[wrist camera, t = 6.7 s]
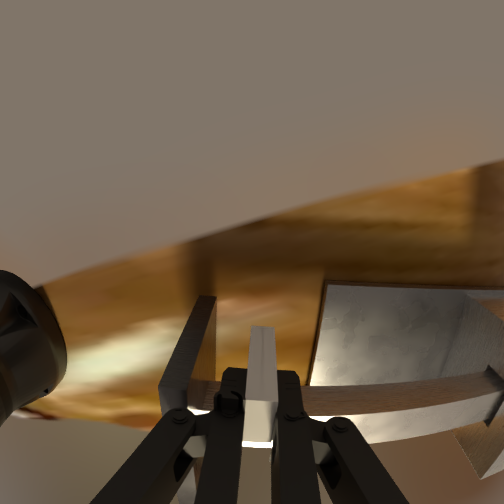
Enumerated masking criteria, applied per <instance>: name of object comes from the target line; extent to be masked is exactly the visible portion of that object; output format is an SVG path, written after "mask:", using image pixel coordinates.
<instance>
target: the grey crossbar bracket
mask: <svg viewBox="0 0 504 504" xmlns="http://www.w3.org/2000/svg"><path fill="white" fill-rule="evenodd" d="M216 308H217V297H214V296H202V295H199V297H198V299H197V302H196V304H195V306H194V308H193V310H192V312H191V314H190V317H189V319H188V321H187V323H186V325H185V327H184V330H183V332H182V334H181V336H180V338H179V341H178V343H177V345H176V347H175V349H174V352H173V354H172V356H171V358H170V360H169V363H168V365H167V367H166V369H165V372H164V374H163V376H162V378H161V381H160V383H159V385H158V389H159V397H160V404H161V411H162V417H163V416H164V415H165V413H166V412H168V411H169V410H171V409H173V408H186V409H188V410H190V411H192V412H193V413H194V414H195V415H198V414H205V413H208V412H210V411H212V410H213V409H214V395H215V393H216V392H218V391H219V390H220V386H221V381H215V364H216ZM301 393H302V400H303V407H304V411H306V412H307V415H308V416H310V417H311V418H313V419H316V420H319V421H324V422H326V421H327V420H328V419H329V418H332V417H334V416H342V417H346V418H348V419H350V420H351V421H352V422H353V423H354V424H355V425H356V427H357V428H358V430H359V431H360V433H361V434H362V436H363V437H364V438H365V440H366V441H367V443H368V444H370V443H379V442H386V441H393V440H400V439H406V438H411V437H417V436H423V435H427V434H432V433H437V432H441V431H446V430H450V429H454V428H458V427H462V426H466V425H469V424H473V423H477V422H480V421H483V420H487V419H490V418H493V417H495V415H496V414H497V412H498V410H499V408H500V406H501V405H502V403H503V401H504V380H503V379H502V378H501V377H500V376H499V375H498V373H497V372H496V371H495V370H494V369H492V370H487V371H481V372H476V373H470V374H464V375H458V376H451V377H444V378H436V379H428V380H419V381H410V382H399V383H386V384H370V385H346V386H301ZM242 446H246V447H268V448H272V442H271V443H257V442H243V444H242ZM203 458H204V456H203V457H198V458H197V460H196V462H195V464H194V465H193V467H192V469H191V470H190V472H189V474H188V475H187V477H186V478H185V480H184V482H183V483H182V485H181V486H180V488H179V490H178V491H177V496H178V500H179V504H194V501H195V496H196V491H197V486H198V482H199V477H200V472H201V467H202V463H203Z"/></svg>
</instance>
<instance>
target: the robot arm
mask: <svg viewBox="0 0 504 504" xmlns="http://www.w3.org/2000/svg"><path fill="white" fill-rule="evenodd" d="M66 367H67V355H66V349H65V345H64V341H63V338H62V335H61V332H60V330H59V328H58V325H57V323H56V321H55V319H54V317H53V316H52V314H51V312H50V311H49V309H48V307H47V306H46V304H45V303H44V302H43V300H42V299H41V298H40V296H39V295H38V294H37V293H36V292H35V291H34V290H33V288H32V287H31V286H29V285H28V284H27V283H26V282H25V281H23V280H22V279H21V278H20V277H18V276H17V275H15V274H13V273H10V272H8V271H4V270H0V427H1V425H2V424H3V423H4V422H5V420H6V419H7V418H8V417H9V416H10V415H11V414H12V413H13V411H15V410H16V409H19V408H21V407H23V406H25V405H27V404H29V403H31V402H33V401H35V400H37V399H39V398H41V397H44V396H46V395H48V394H49V393H51V392H52V391H53V390H54V389H55V388H56V386H57V385H58V384H59V383H60V382H61V380H62V379H63V377H64V375H65V372H66ZM243 442H257V443H271V442H272V448H271V454H270V459H269V461H271V499H272V500H271V504H321V499H320V491H319V484H318V478H317V472H318V474H319V476H320V478H321V480H322V482H323V484H324V486H325V489H326V491H327V493H328V494H329V497H330V499H331V500H332V503H333V504H409V502H408V501H407V500H406V498H405V497H404V495H403V494H402V492H401V491H400V490H399V488H398V486H397V485H396V484H395V482H394V481H393V479H392V478H391V476H390V475H389V473H388V472H387V471H386V469H385V468H384V466H383V465H382V463H381V462H380V460H379V459H378V458H377V456H376V455H375V453H374V452H373V450H372V449H371V447H370V446H369V444H368V443H367V441H366V440H365V438H364V437H363V436H362V434H361V433H360V431H359V430H358V428H357V427H356V425H355V424H354V423H353V422H352V421H351V420H350V419H348V418H346V417H342V416H334V417H332V418H329V419H328V420H327V421H326V422H324V421H319V420H316V419H313V418H311V417H310V416H308V415H307V412H306V411H304V407H303V400H302V393H301V386H300V379H299V376H298V375H297V374H296V372H295V371H287V370H277V366H276V347H275V329H274V327H264V326H251V336H250V348H249V359H248V369H244V368H232V367H228V368H227V369H226V370H225V371H224V372H223V375H222V380H221V386H220V390H219V391H218V392H216V393H215V395H214V409H213V410H212V411H210V412H208V413H205V414H198V415H195V414H194V413H193V412H192V411H190V410H188V409H186V408H173V409H171V410H169V411H168V412H166V413H165V415H164V416H163V417H162V418H161V419H160V421H159V422H158V423H157V424H156V426H155V427H154V428H153V429H152V430H151V432H150V433H149V434H148V435H147V437H146V438H145V439H144V440H143V441H142V443H141V444H140V445H139V446H138V447H137V449H136V450H135V451H134V452H133V453H132V455H131V456H130V457H129V458H128V459H127V461H126V462H125V463H124V464H123V465H122V466H121V468H120V469H119V470H118V471H117V472H116V474H115V475H114V476H113V477H112V478H111V479H110V480H109V482H108V483H107V484H106V485H105V486H104V487H103V489H102V490H101V491H100V492H99V493H98V494H97V495H96V497H95V498H94V499H93V500H92V501H91V502H90V504H170V502H171V500H172V499H173V497H174V496H175V494H176V493H177V491H178V490H179V488H180V486H181V485H182V483H183V482H184V480H185V478H186V477H187V475H188V474H189V472H190V470H191V469H192V467H193V465H194V464H195V462H196V460H197V458H198V457H203V456H204V458H203V463H202V467H201V472H200V477H199V482H198V486H197V491H196V496H195V501H194V504H237V498H238V487H239V477H240V466H241V455H242V444H243Z"/></svg>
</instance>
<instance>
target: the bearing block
mask: <svg viewBox="0 0 504 504" xmlns="http://www.w3.org/2000/svg"><path fill="white" fill-rule="evenodd" d="M492 369H494V370H495V371H496V372H497V373H498V375H499V376H500V377H501V378H502V379H503V380H504V287H480V286H444V285H415V284H390V283H368V282H348V281H329V280H325V286H324V293H323V300H322V306H321V312H320V318H319V324H318V330H317V336H316V342H315V347H314V353H313V358H312V363H311V368H310V373H309V378H308V383H307V386H346V385H370V384H386V383H399V382H410V381H419V380H428V379H436V378H444V377H451V376H458V375H464V374H470V373H476V372H481V371H487V370H492ZM450 430H451V431H452V433H453V435H454V436H455V438H456V439H457V441H458V443H459V444H460V446H461V448H462V449H463V451H464V453H465V454H466V456H467V458H468V459H469V461H470V463H471V464H472V466H473V468H474V470H475V471H476V473H477V475H478V477H479V478H480V479H483V478H485V477H488V476H490V475H492V474H494V473H497V472H499V471H501V470H503V469H504V401H503V403H502V405H501V406H500V408H499V410H498V412H497V414H496V415H495V417H493V418H490V419H487V420H483V421H480V422H477V423H473V424H469V425H466V426H462V427H458V428H454V429H450Z"/></svg>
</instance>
